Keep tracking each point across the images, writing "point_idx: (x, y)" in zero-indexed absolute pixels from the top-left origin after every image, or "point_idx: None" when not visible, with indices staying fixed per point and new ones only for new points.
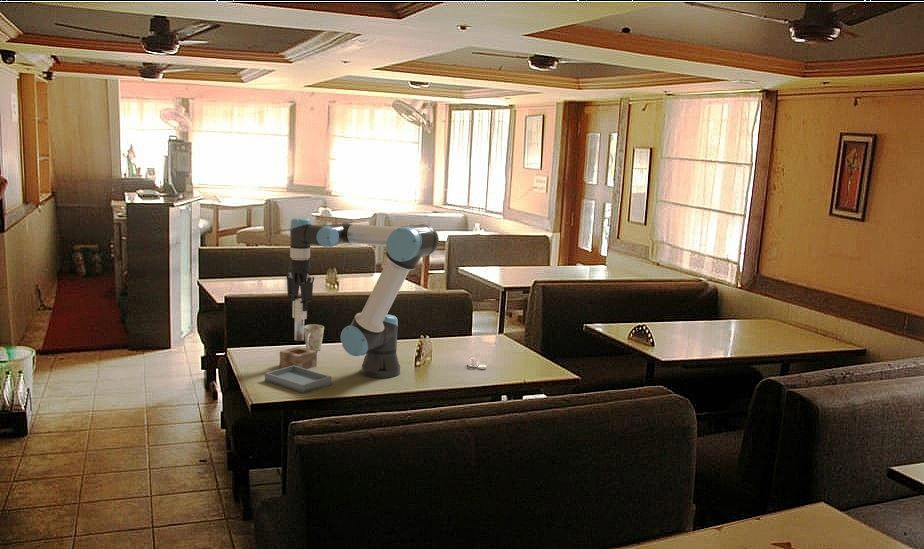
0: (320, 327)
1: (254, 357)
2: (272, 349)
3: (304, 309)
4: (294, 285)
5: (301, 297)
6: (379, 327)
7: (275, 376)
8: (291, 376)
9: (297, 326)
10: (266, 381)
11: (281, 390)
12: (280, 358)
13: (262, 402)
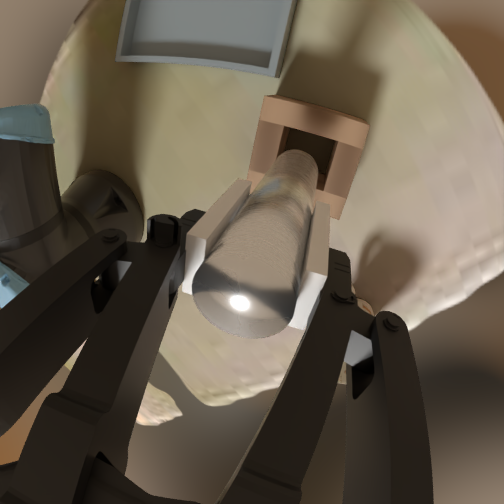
0: (340, 376)
1: (477, 178)
2: (458, 271)
3: (189, 215)
4: (263, 455)
5: (164, 275)
6: None
7: None
8: (242, 23)
9: (280, 167)
10: None
11: None
12: (363, 121)
13: None
